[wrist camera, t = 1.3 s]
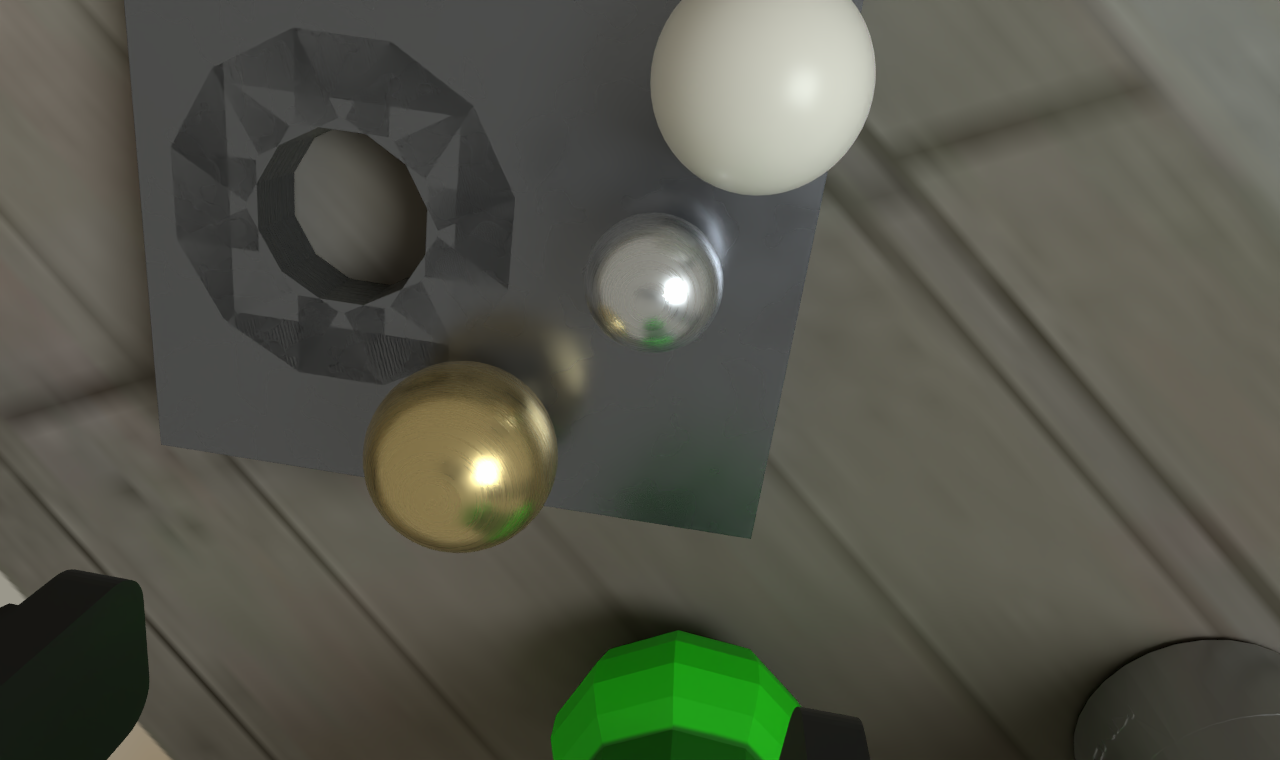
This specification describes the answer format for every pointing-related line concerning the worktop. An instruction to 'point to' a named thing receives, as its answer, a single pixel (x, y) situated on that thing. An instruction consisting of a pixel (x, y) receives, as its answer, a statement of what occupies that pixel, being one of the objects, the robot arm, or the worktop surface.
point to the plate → (449, 240)
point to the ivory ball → (762, 89)
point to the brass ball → (460, 456)
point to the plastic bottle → (675, 704)
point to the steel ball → (653, 282)
